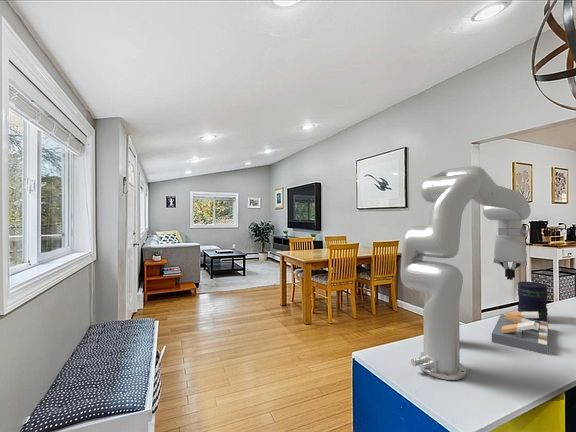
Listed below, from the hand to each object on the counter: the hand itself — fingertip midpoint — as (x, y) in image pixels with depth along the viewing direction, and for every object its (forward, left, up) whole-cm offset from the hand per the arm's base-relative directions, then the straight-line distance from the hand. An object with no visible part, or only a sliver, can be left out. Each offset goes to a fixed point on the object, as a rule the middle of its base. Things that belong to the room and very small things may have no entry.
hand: (510, 279), depth 118 cm
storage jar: (+18, +4, -20) cm, 27 cm away
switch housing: (-4, -6, -20) cm, 21 cm away
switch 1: (+3, -2, -15) cm, 15 cm away
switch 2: (-4, -6, -15) cm, 16 cm away
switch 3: (-10, -10, -15) cm, 21 cm away
